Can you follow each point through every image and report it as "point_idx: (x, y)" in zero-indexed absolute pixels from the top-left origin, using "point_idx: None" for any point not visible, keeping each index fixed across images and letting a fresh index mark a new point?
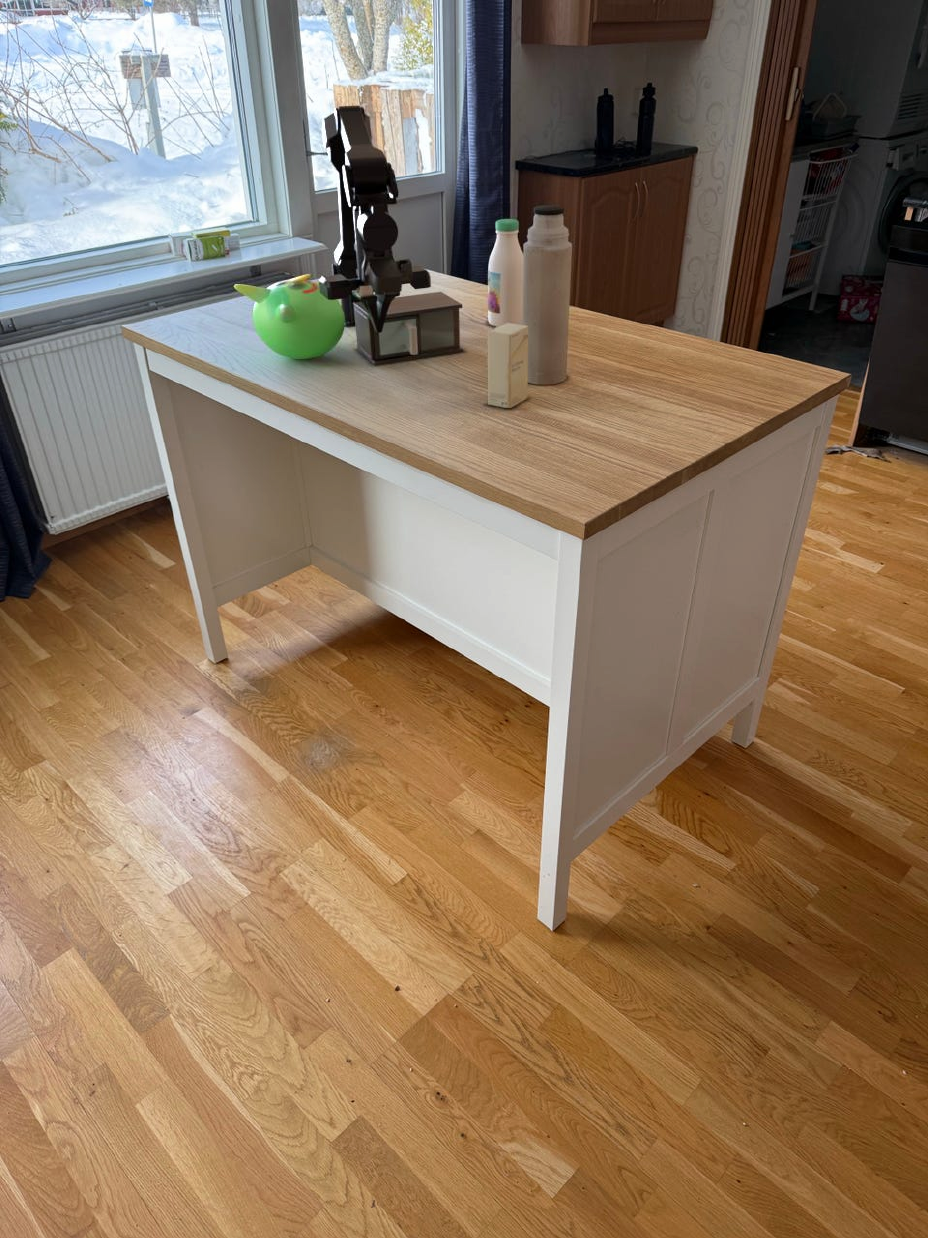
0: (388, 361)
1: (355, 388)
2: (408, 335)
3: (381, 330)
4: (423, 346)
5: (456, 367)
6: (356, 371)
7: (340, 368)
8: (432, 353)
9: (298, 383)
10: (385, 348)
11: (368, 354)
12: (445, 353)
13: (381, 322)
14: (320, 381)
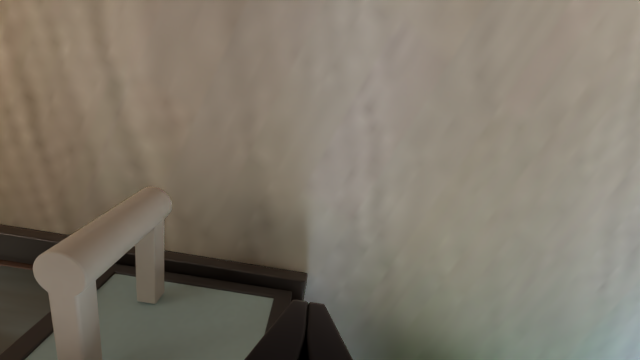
0: (253, 268)
1: (513, 90)
2: (110, 325)
3: (296, 303)
4: None
5: (25, 70)
6: (393, 259)
7: (420, 314)
8: None
9: (631, 268)
10: (244, 311)
11: None
12: (21, 230)
13: (289, 343)
14: (560, 242)
